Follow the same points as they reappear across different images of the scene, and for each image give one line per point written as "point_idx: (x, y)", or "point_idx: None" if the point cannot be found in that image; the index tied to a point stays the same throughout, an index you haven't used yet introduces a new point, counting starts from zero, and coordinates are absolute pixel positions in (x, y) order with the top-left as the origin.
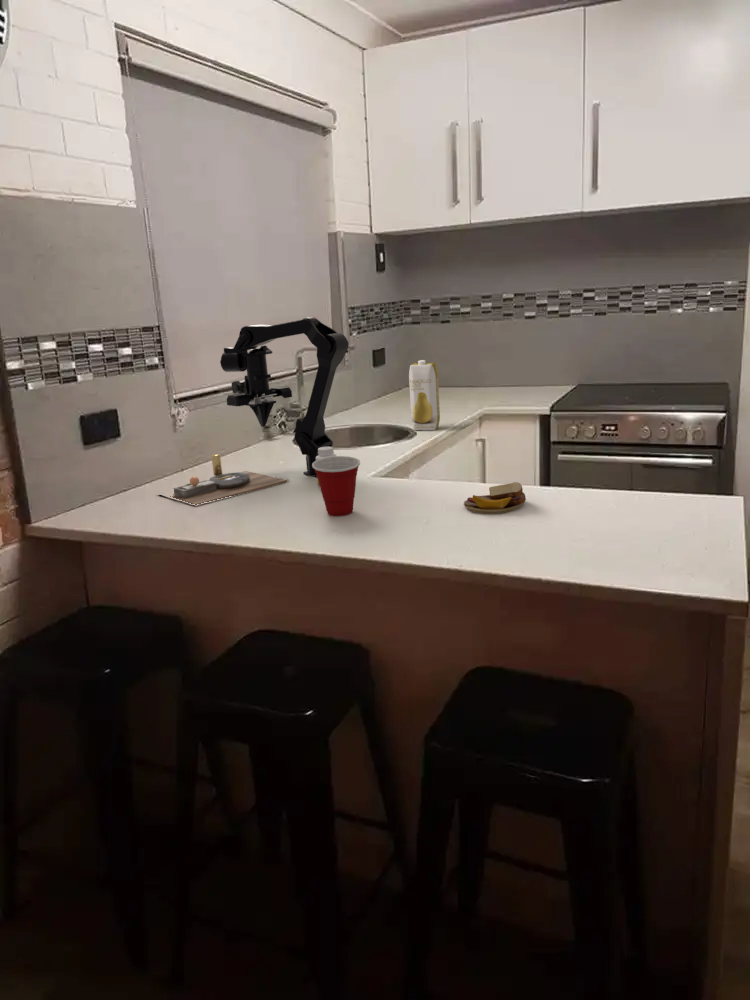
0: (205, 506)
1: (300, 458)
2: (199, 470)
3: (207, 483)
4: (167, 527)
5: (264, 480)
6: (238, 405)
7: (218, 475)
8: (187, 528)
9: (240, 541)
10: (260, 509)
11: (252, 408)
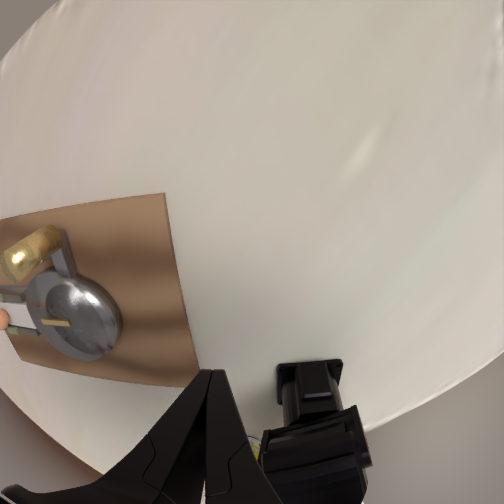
0: (36, 369)
1: (434, 170)
2: (88, 17)
3: (24, 323)
4: (9, 386)
5: (155, 353)
6: (3, 502)
7: (44, 279)
8: (28, 405)
9: (77, 454)
10: (105, 433)
11: (98, 490)
